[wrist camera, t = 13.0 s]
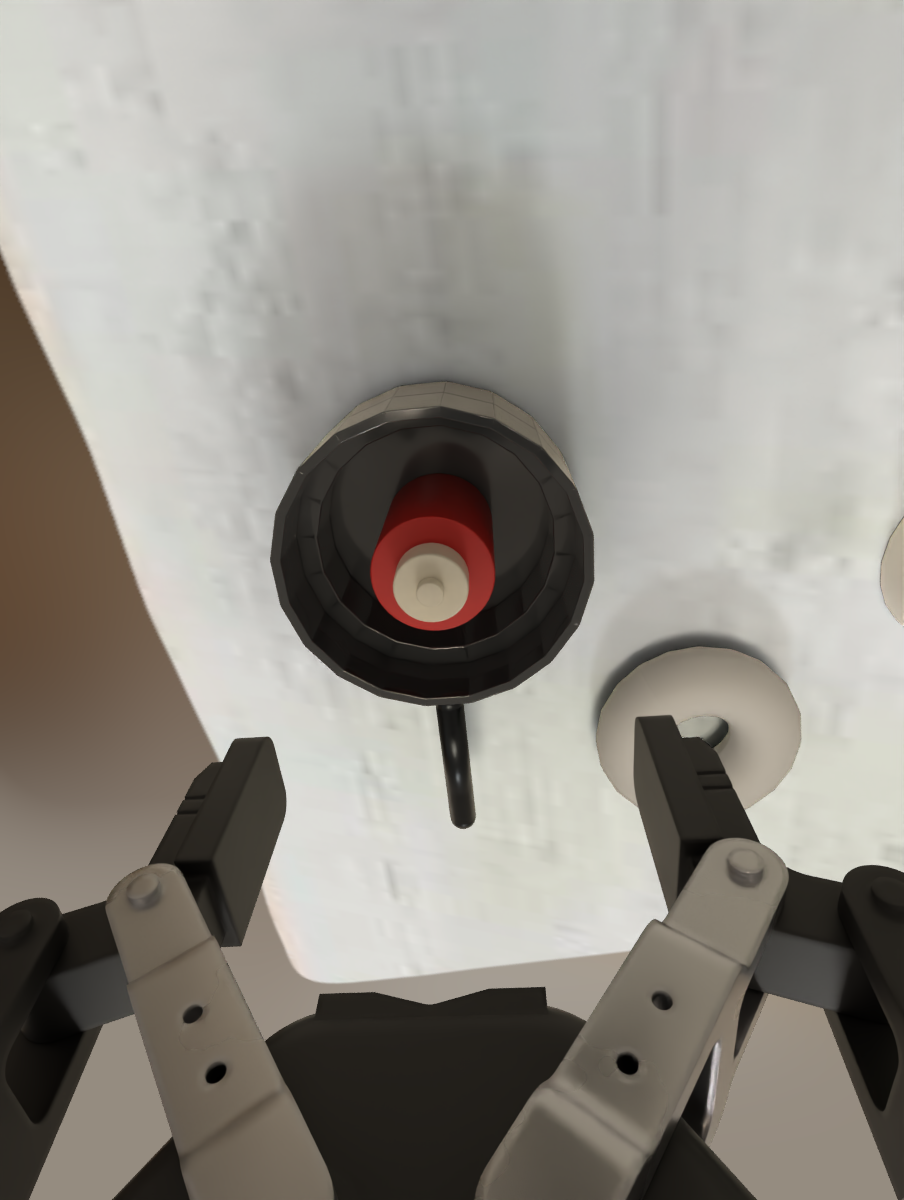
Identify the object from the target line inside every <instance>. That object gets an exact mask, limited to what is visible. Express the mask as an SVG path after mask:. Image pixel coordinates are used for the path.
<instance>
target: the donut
mask: <svg viewBox="0 0 904 1200" xmlns="http://www.w3.org/2000/svg"><path fill="white" fill-rule="evenodd" d="M658 715H672V717H673V718H674V721H675V723H676V725H678V724H680V723H682V722H684V721H686V720H688V719H691V718H694V717H700V716H715V717H720V718H722V719H724V720H725V721H726V722H727V723H728V726H729V730H728V733H727V735H726V736H725V737H724V739H723V740H722V741H721V742H720V743H719V744H718V745H717V746H715V747H714V748H713V749H714V750H715V751H716V752H717V753H718V755H719V758H720V760H721V762H722V764H723V766H724V768H725V770H726V774H728V776H729V779H730V781H731V783H732V785H733V789H735V791H736V793H737V795H738V798H739V800H740V802H741V804H742V806H743V808H744V809H747V808H749V807H751V806H752V805H754V804H755V803H757V802H758V801H760V800H761V799H762V798H764V797H765V796H767V795H768V794H769V793H771V792H772V791H774V790H775V789H776V787H777V786H778V785H779V784H780V782H781V781H782V780H783V779H784V777H785V776H786V775H787V774H788V772H789V771H790V770H791V769H792V766H793V763H794V761H795V758H796V755H797V753H798V750H799V747H800V744H801V713H800V711H799V708H798V706H797V704H796V702H795V700H794V698H793V696H792V694H791V691H790V689H789V687H788V685H787V683H786V682H784V681H783V680H782V679H781V678H780V677H779V676H778V675H776V674H775V673H774V672H773V671H772V670H771V669H770V668H769V667H767V666H766V665H765V664H764V663H763V662H762V661H760V660H758V659H755V658H753V657H750V656H748V655H745V654H743V653H740V652H738V651H735V650H733V649H724V648H713V647H701V646H697V647H691V648H686V649H680V650H675V651H669V652H666V653H664V654H662V655H660V656H658V657H655V658H653V659H651V660H649V661H647V662H645V663H643V664H641V665H639V666H638V667H637V668H636V669H634V670H633V671H632V672H631V673H630V674H629V675H627V676H626V677H625V678H624V679H623V680H622V681H620V682H619V683H618V684H617V686H616V687H615V689H614V690H613V692H612V694H611V695H610V697H609V698H608V700H607V702H606V703H605V705H604V707H603V708H602V710H601V714H600V719H599V724H598V728H597V733H596V743H597V749H598V754H599V759H600V765H601V767H602V769H603V771H604V772H605V774H606V776H607V777H608V779H609V780H610V782H611V783H612V785H613V786H614V788H615V789H616V791H617V792H618V793H620V794H621V795H622V796H624V797H625V798H626V799H628V800H629V801H630V802H632V803H633V804H634V805H636V806H637V807H638V804H637V800H636V795H635V789H634V778H633V766H634V728H635V719H636V717H640V716H658Z"/></svg>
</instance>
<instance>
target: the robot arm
mask: <svg viewBox="0 0 904 1200" xmlns="http://www.w3.org/2000/svg"><path fill="white" fill-rule="evenodd" d="M633 778H634V789H635V795H636V800H637V804H638V808H639V811H640V815H641V818H642V822H643V825H644V829H645V832H646V835H647V839H648V842H649V846H650V849H651V853H652V856H653V860H654V863H655V867H656V870H657V874H658V877H659V881H660V884H661V887H662V891H663V894H664V898H665V901H666V905H667V908H668V912H669V913H668V915H667V916H666V918H665V919H664V921H663V922H660V921H658V920H656V919H654V920H652V921H651V922H650V923H649V924H648V925H647V926H646V928H645V929H644V931H643V932H642V934H641V935H640V937H639V939H638V940H637V942H636V943H635V945H634V947H633V948H632V950H631V951H630V953H629V955H628V956H627V958H626V960H625V961H624V963H623V964H622V966H621V967H620V969H619V971H618V972H617V974H616V976H615V977H614V979H613V980H612V982H611V984H610V985H609V987H608V988H607V990H606V992H605V993H604V995H603V996H602V998H601V999H600V1001H599V1003H598V1004H597V1006H596V1007H595V1009H594V1011H593V1012H592V1014H591V1016H590V1017H589V1019H588V1020H587V1021H585V1020H582V1019H581V1018H579V1017H577V1016H575V1015H573V1014H571V1013H568V1012H565V1011H563V1010H560V1009H557V1008H553V1007H549V1006H547V1000H546V990H545V987H531V988H498V989H486V990H483V991H480V992H476V993H472V994H469V995H465V996H462V997H458V998H455V999H451V1000H448V1001H444V1002H441V1003H437V1004H433V1005H428V1004H422V1003H418V1002H413V1001H409V1000H404V999H400V998H396V997H392V996H388V995H384V994H379V993H375V992H371V993H370V992H367V993H335V994H320V995H319V999H318V1004H317V1009H316V1014H313V1015H309V1016H307V1017H304V1018H302V1019H300V1020H297V1021H295V1022H293V1023H291V1024H289V1025H288V1026H286V1027H284V1028H282V1029H281V1030H279V1031H278V1032H276V1033H275V1034H273V1035H272V1036H271V1037H269V1038H268V1039H267V1040H266V1041H264V1039H263V1037H262V1034H261V1032H260V1030H259V1028H258V1026H257V1024H256V1022H255V1020H254V1018H253V1016H252V1013H251V1011H250V1009H249V1007H248V1005H247V1003H246V1001H245V999H244V997H243V995H242V993H241V990H240V988H239V986H238V984H237V982H236V980H235V978H234V976H233V974H232V972H231V969H230V967H229V965H228V963H227V961H226V959H225V957H224V955H223V953H222V951H221V947H233V946H241V945H242V942H243V939H244V936H245V933H246V930H247V927H248V924H249V921H250V918H251V916H252V913H253V910H254V907H255V903H256V901H257V898H258V895H259V892H260V889H261V886H262V883H263V880H264V877H265V874H266V871H267V868H268V865H269V862H270V859H271V856H272V854H273V851H274V848H275V845H276V842H277V839H278V836H279V833H280V830H281V827H282V824H283V821H284V818H285V813H286V791H285V786H284V783H283V779H282V775H281V771H280V767H279V763H278V759H277V755H276V751H275V748H274V744H273V741H272V739H271V738H270V737H254V738H237V739H235V740H234V741H233V742H232V744H231V746H230V748H229V750H228V752H227V754H226V756H225V758H224V760H223V762H216V763H211V764H210V765H209V766H208V767H207V768H206V769H205V770H203V771H202V772H201V773H200V774H199V775H198V776H197V777H196V778H195V779H194V781H193V783H192V784H191V786H190V788H189V790H188V792H187V794H186V796H185V800H183V801H182V803H181V805H180V807H179V809H178V811H177V815H175V816H174V818H173V820H172V822H171V824H170V826H169V827H168V830H167V831H166V833H165V835H164V837H163V839H162V841H161V842H160V844H159V846H158V848H157V850H156V852H155V854H154V856H153V857H152V859H151V861H150V863H149V865H148V866H145V867H142V868H140V869H138V870H136V871H134V872H132V873H130V874H129V875H127V876H126V877H124V878H123V879H122V880H121V881H120V882H119V883H118V884H117V885H116V886H115V887H114V888H113V890H112V891H111V893H110V894H109V896H108V898H107V900H106V901H103V902H101V903H98V904H94V905H91V906H88V907H84V908H81V909H78V910H75V911H72V912H68V913H65V914H62V913H61V911H60V909H59V907H58V906H57V904H56V903H55V902H54V901H52V900H50V899H47V898H33V899H28V900H25V901H22V902H19V903H16V904H14V905H12V906H10V907H8V908H7V909H5V910H3V911H2V912H0V1200H29V1198H30V1196H31V1193H32V1191H33V1188H34V1186H35V1184H36V1182H37V1179H38V1177H39V1174H40V1172H41V1169H42V1167H43V1165H44V1163H45V1160H46V1158H47V1155H48V1153H49V1151H50V1148H51V1146H52V1144H53V1141H54V1139H55V1137H56V1134H57V1132H58V1130H59V1127H60V1125H61V1123H62V1120H63V1118H64V1115H65V1113H66V1111H67V1108H68V1106H69V1103H70V1101H71V1099H72V1097H73V1094H74V1092H75V1089H76V1087H77V1085H78V1082H79V1080H80V1077H81V1075H82V1073H83V1071H84V1068H85V1066H86V1063H87V1061H88V1059H89V1056H90V1054H91V1052H92V1049H93V1047H94V1045H95V1042H96V1040H97V1037H98V1035H99V1033H100V1030H101V1028H102V1026H103V1024H106V1023H109V1022H112V1021H115V1020H118V1019H121V1018H124V1017H127V1016H130V1015H133V1014H135V1017H136V1020H137V1023H138V1026H139V1030H140V1033H141V1036H142V1039H143V1043H144V1046H145V1049H146V1052H147V1055H148V1059H149V1062H150V1065H151V1068H152V1072H153V1075H154V1078H155V1081H156V1084H157V1088H158V1091H159V1094H160V1097H161V1100H162V1104H163V1107H164V1110H165V1113H166V1117H167V1120H168V1123H169V1126H170V1129H171V1132H172V1137H171V1138H170V1140H169V1141H168V1142H167V1143H166V1144H165V1145H164V1146H163V1147H162V1148H161V1149H160V1150H159V1151H158V1152H157V1153H156V1154H155V1155H154V1156H153V1158H151V1160H150V1161H149V1162H148V1163H147V1164H146V1165H145V1166H144V1167H143V1168H142V1169H141V1170H140V1171H139V1172H138V1173H137V1174H136V1175H135V1176H134V1177H133V1178H132V1180H130V1182H129V1183H128V1184H127V1185H126V1186H125V1187H124V1188H123V1189H122V1190H121V1191H120V1192H119V1193H118V1194H117V1195H116V1196H115V1197H114V1199H112V1200H757V1199H756V1198H755V1197H754V1196H753V1195H752V1194H751V1193H750V1192H749V1191H748V1190H747V1188H746V1187H745V1186H744V1185H743V1184H742V1183H741V1182H740V1181H739V1180H738V1179H737V1177H736V1176H735V1175H734V1174H733V1173H732V1172H731V1171H730V1170H729V1169H728V1167H726V1165H725V1164H724V1163H723V1162H722V1161H721V1160H720V1159H719V1158H718V1157H717V1156H716V1154H715V1153H714V1152H713V1151H712V1150H711V1149H710V1148H709V1147H710V1145H711V1143H712V1140H713V1138H714V1135H715V1133H716V1130H717V1128H718V1125H719V1123H720V1120H721V1117H722V1114H723V1111H724V1108H725V1105H726V1101H727V1098H728V1094H729V1090H730V1087H731V1084H732V1081H733V1078H734V1075H735V1072H736V1070H737V1067H738V1065H739V1062H740V1060H741V1058H742V1055H743V1053H744V1051H745V1048H746V1046H747V1043H748V1041H749V1039H750V1036H751V1034H752V1032H753V1029H754V1027H755V1025H756V1022H757V1020H758V1018H759V1015H760V1013H761V1010H762V1008H763V1006H764V1003H765V1001H766V998H767V996H768V994H772V995H776V996H780V997H783V998H787V999H791V1000H794V1001H798V1002H802V1003H805V1004H809V1005H813V1006H816V1007H820V1008H823V1009H824V1011H825V1014H826V1016H827V1019H828V1022H829V1024H830V1027H831V1029H832V1032H833V1034H834V1037H835V1039H836V1042H837V1045H838V1047H839V1050H840V1052H841V1055H842V1057H843V1060H844V1063H845V1065H846V1068H847V1070H848V1073H849V1075H850V1078H851V1081H852V1083H853V1086H854V1088H855V1090H856V1093H857V1096H858V1098H859V1101H860V1104H861V1106H862V1109H863V1111H864V1114H865V1116H866V1119H867V1121H868V1124H869V1127H870V1129H871V1132H872V1134H873V1137H874V1140H875V1142H876V1145H877V1147H878V1150H879V1152H880V1155H881V1157H882V1160H883V1162H884V1165H885V1168H886V1170H887V1173H888V1176H889V1178H890V1181H891V1183H892V1186H893V1188H894V1191H895V1193H896V1196H897V1199H898V1200H904V873H903V872H901V871H898V870H896V869H892V868H889V867H884V866H878V865H865V866H860V867H857V868H854V869H852V870H851V871H849V872H848V873H847V874H846V876H845V877H844V880H843V883H842V882H837V881H832V880H828V879H823V878H818V877H813V876H809V875H805V874H802V873H799V872H796V871H794V870H791V869H789V868H787V867H786V865H785V863H784V862H783V860H782V859H781V858H780V857H779V856H778V855H777V854H776V853H775V852H774V851H772V850H771V849H770V848H768V847H766V846H765V845H762V844H761V843H760V842H759V840H758V837H757V835H756V833H755V831H754V829H753V827H752V825H751V823H750V821H749V819H748V816H747V814H746V812H745V810H744V808H743V806H742V804H741V802H740V800H739V798H738V795H737V793H736V791H735V789H733V785H732V783H731V781H730V779H729V776H728V774H726V770H725V768H724V766H723V764H722V762H721V760H720V758H719V755H718V753H717V752H716V751H715V750H714V749H713V748H711V747H710V746H709V745H708V744H707V743H706V742H705V741H703V740H702V739H701V738H700V737H692V738H682V737H681V735H680V733H679V730H678V728H677V725H676V723H675V721H674V718H673V717H672V715H658V716H640V717H636V719H635V728H634V766H633Z"/></svg>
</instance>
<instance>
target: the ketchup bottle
mask: <svg viewBox="0 0 904 1200" xmlns="http://www.w3.org/2000/svg"><path fill="white" fill-rule="evenodd" d="M370 576H371V583H372V587H373V590H374V592H375V595H376V597H377V598H378V600H379V602H380V603H381V605H382V606H383V607H384V608H385V609H386V610H387V612H388V613H390V614H391V615H392V616H393V617H394V618H396V619H397V620H399V621H401V622H402V623H404V624H406V625H409V626H411V627H414V628H418V629H423V630H431V631H432V630H446V629H450V628H454V627H457V626H460V625H462V624H464V623H466V622H468V621H469V620H471V619H472V618H473V617H475V616H476V615H477V614H478V613H479V612H480V611H481V610H482V609H483V608H484V606H485V605H486V604H487V602H488V600H489V598H490V596H491V594H492V591H493V588H494V583H495V559H494V542H493V524H492V515H491V511H490V508H489V506H488V503H487V501H486V500H485V498H484V496H483V495H482V494H481V493H480V491H479V490H478V489H477V488H476V487H474V486H473V485H472V484H470V483H469V482H468V481H466V480H464V479H462V478H459V477H457V476H453V475H449V474H441V473H440V474H428V475H424V476H421V477H418V478H416V479H414V480H412V481H410V482H409V483H407V484H406V485H405V486H404V487H402V488H401V490H400V491H399V492H398V493H397V494H396V496H395V497H394V499H393V501H392V503H391V505H390V508H389V511H388V514H387V516H386V519H385V522H384V525H383V528H382V531H381V534H380V536H379V539H378V542H377V545H376V548H375V551H374V554H373V556H372V560H371V566H370Z"/></svg>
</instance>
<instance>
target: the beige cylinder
mask: <svg viewBox="0 0 904 1200" xmlns="http://www.w3.org/2000/svg"><path fill="white" fill-rule="evenodd" d="M880 586H881V589H882V593H883V597H884V600H885V604H886V606H887V607H888V609H889V610H890V612H891V613H892V614H893V616H894V617H895V619H896V620H897V621H898V622H899V623H900V624H901V625H902V626H903V627H904V518H903V519H902V521H901V522H900V524H899V525H898V527H897V528H896V530H895V531H894V533H893V535H892V536H891V538H890V540H889V543H888V545H887V548H886V551H885V554H884V557H883V560H882V564H881V580H880Z"/></svg>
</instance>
